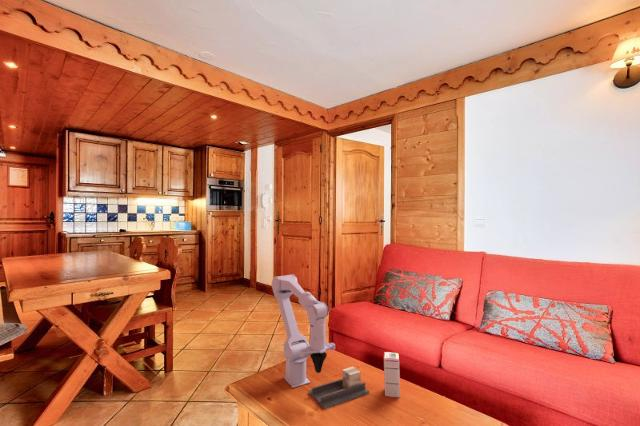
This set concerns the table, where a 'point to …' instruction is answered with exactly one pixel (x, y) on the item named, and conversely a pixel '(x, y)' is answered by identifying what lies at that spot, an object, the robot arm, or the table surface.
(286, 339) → the robot arm
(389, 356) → the syrup box
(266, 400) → the table surface
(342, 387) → the chute
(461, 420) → the table surface
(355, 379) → the block
